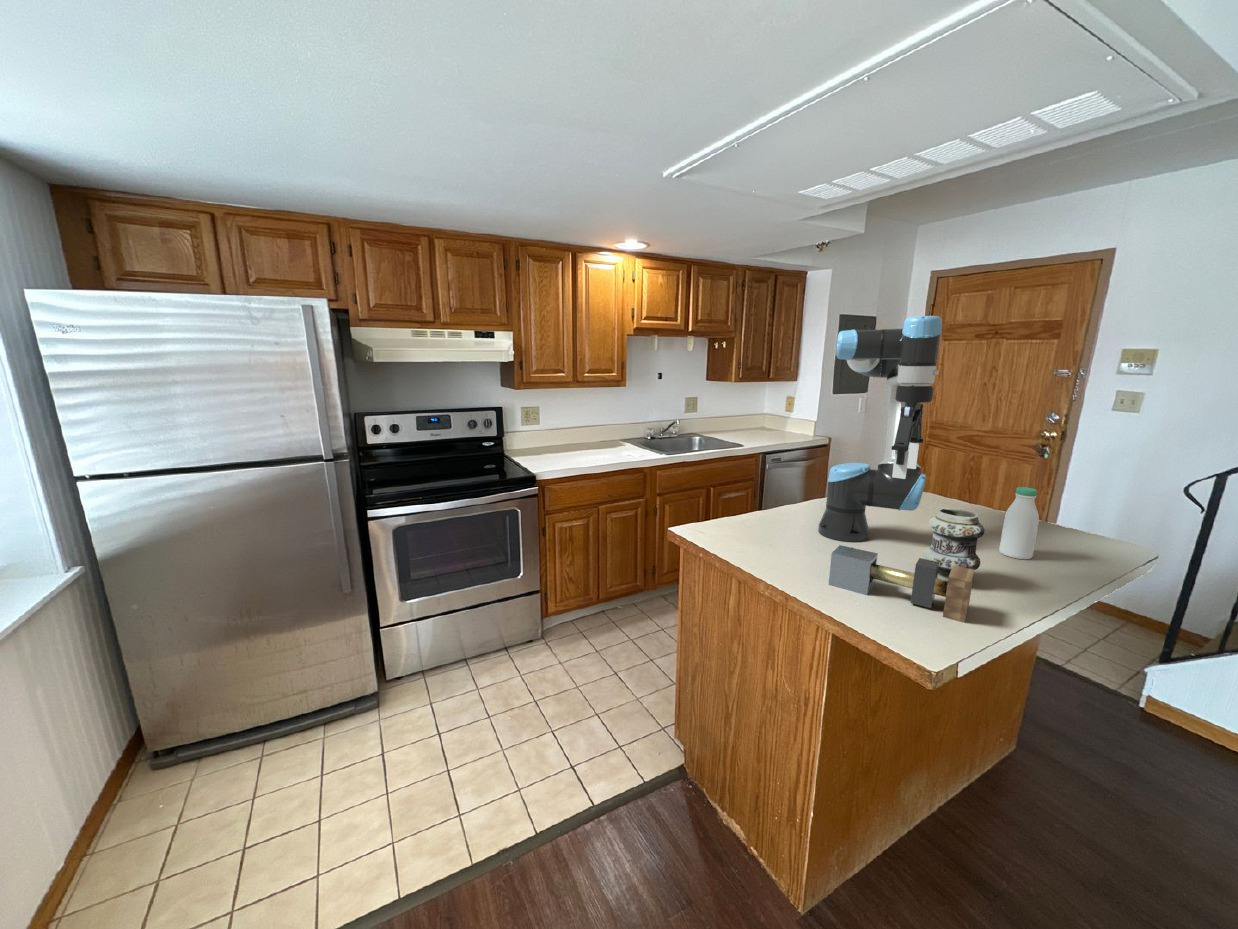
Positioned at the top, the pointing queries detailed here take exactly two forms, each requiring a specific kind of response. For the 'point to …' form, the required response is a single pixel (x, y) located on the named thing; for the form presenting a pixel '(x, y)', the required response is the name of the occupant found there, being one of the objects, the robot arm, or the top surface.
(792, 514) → the top surface
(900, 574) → the tube
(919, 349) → the robot arm
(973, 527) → the apothecary jar
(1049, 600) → the top surface
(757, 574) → the top surface
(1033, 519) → the milk bottle
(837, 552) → the sleeve
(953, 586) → the socket block
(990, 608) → the top surface
